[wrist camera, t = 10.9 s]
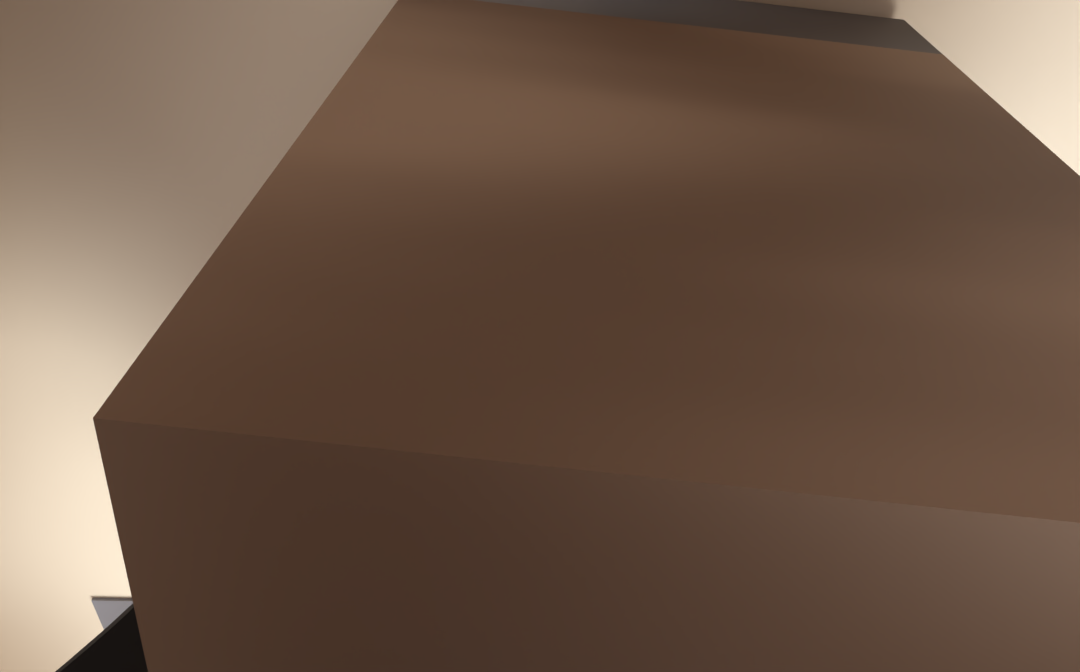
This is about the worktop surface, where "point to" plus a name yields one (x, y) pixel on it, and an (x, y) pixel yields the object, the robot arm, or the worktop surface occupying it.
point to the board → (232, 221)
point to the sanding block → (622, 364)
